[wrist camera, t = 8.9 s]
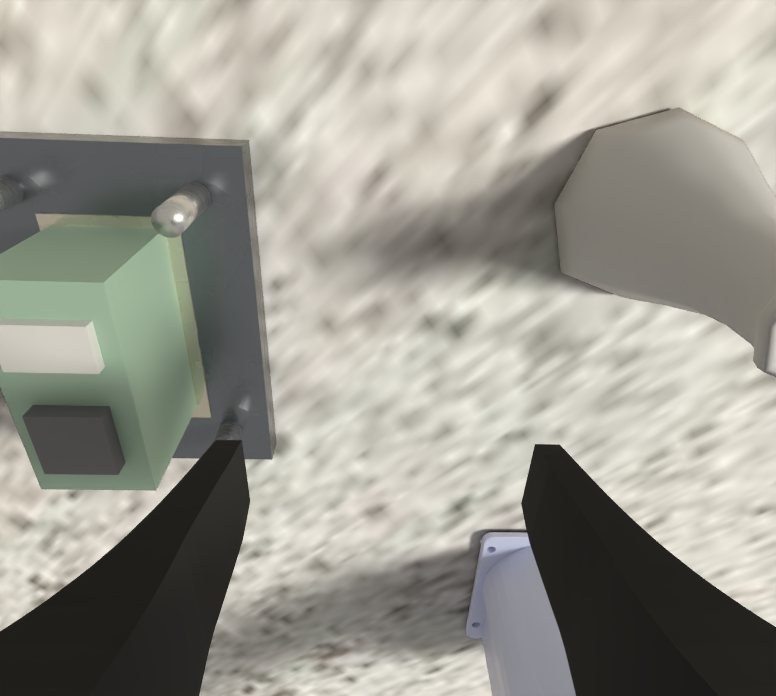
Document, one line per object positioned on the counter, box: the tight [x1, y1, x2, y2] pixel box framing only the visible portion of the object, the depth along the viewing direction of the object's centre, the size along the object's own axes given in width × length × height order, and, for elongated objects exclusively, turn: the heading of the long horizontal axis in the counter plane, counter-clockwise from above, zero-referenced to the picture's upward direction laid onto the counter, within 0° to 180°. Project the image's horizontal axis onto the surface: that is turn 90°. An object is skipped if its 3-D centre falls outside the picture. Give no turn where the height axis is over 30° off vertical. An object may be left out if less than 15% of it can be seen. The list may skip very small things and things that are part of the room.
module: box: [0, 225, 197, 490], centre depth 19 cm, size 8×4×6 cm, turn 178°
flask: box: [554, 108, 776, 377], centre depth 16 cm, size 7×7×10 cm
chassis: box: [0, 132, 276, 459], centre depth 20 cm, size 14×10×4 cm
